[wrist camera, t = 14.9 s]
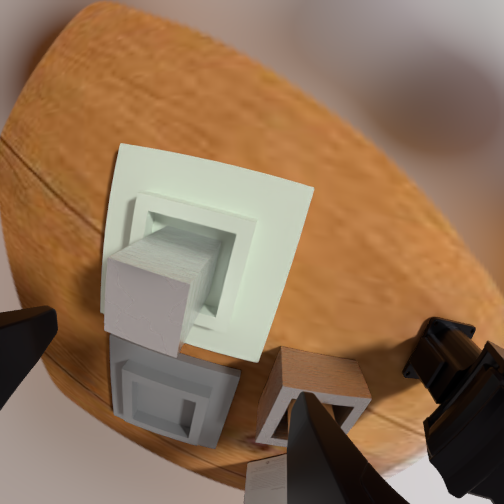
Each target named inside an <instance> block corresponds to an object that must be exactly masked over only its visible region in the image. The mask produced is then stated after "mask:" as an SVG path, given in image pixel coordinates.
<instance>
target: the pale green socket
mask: <svg viewBox="0 0 504 504" xmlns="http://www.w3.org/2000/svg"><path fill="white" fill-rule="evenodd" d="M313 191H314V188H313V187H310V186H307V185H303V184H300V183H297V182H293V181H290V180H286V179H283V178H279V177H275V176H272V175H268V174H264V173H261V172H257V171H253V170H249V169H245V168H241V167H237V166H233V165H229V164H225V163H220V162H216V161H212V160H207V159H203V158H198V157H193V156H188V155H184V154H179V153H174V152H168V151H163V150H158V149H152V148H146V147H141V146H134V145H128V144H122V143H120V147H119V152H118V156H117V161H116V166H115V171H114V176H113V182H112V187H111V193H110V200H109V206H108V213H107V221H106V229H105V238H104V248H103V260H102V276H101V302H100V312H101V313H103V314H105V289H106V274H107V261H108V257H109V256H111V255H113V254H115V253H117V252H118V251H120V250H122V249H124V248H126V247H128V246H129V245H131V244H133V243H135V242H137V241H139V240H141V239H142V238H144V237H146V236H148V235H150V234H152V233H154V232H156V231H158V230H160V229H162V228H164V227H166V226H171V227H175V228H178V229H182V230H186V231H189V232H193V233H196V234H200V235H203V236H207V237H210V238H214V239H218V240H221V241H222V244H221V248H220V252H219V256H218V260H217V264H216V268H215V272H214V277H213V281H212V285H211V289H210V293H209V295H208V297H207V299H206V301H205V303H204V305H203V307H202V309H201V311H200V313H199V315H198V317H197V318H196V320H195V322H194V324H193V326H192V328H191V330H190V332H189V334H188V336H187V338H186V340H185V342H184V343H187V344H190V345H193V346H196V347H200V348H203V349H207V350H210V351H214V352H217V353H221V354H225V355H228V356H232V357H236V358H240V359H244V360H248V361H252V362H256V363H258V361H259V359H260V356H261V353H262V350H263V348H264V345H265V342H266V339H267V336H268V333H269V330H270V328H271V325H272V322H273V319H274V316H275V313H276V310H277V307H278V304H279V301H280V298H281V295H282V292H283V289H284V286H285V283H286V280H287V277H288V273H289V270H290V267H291V264H292V261H293V258H294V255H295V251H296V248H297V245H298V242H299V238H300V235H301V232H302V229H303V225H304V222H305V219H306V215H307V212H308V208H309V205H310V202H311V198H312V195H313Z"/></svg>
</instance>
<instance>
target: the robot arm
mask: <svg viewBox="0 0 504 504" xmlns="http://www.w3.org/2000/svg"><path fill="white" fill-rule="evenodd" d="M435 322H436V323H435ZM434 323H435V324H434ZM57 330H58V324H57V314H56V311H55V309H53V308H51V307H49V306H40V307H34V308H27V309H21V310H14V311H8V312H1V313H0V410H1V409H2V407H3V406H4V405H5V403H6V402H7V401H8V399H9V398H10V397H11V395H12V394H13V393H14V391H15V390H16V388H17V387H18V386H19V385H20V383H21V382H22V381H23V379H24V378H25V377H26V376H27V374H28V373H29V372H30V370H31V369H32V368H33V367H34V366H35V364H36V363H37V362H38V360H39V359H40V357H41V356H42V354H43V353H44V351H45V350H46V348H47V347H48V345H49V344H50V342H51V341H52V339H53V338H54V336H55V335H56V333H57ZM475 330H476V328H475V327H474V326H473V325H470V324H465V323H461V322H457V321H452V320H448V319H444V318H440V317H433V318H432V319H431V320H430V322H429V324H428V326H427V328H426V330H425V332H424V334H423V336H422V338H421V340H420V342H419V343H418V345H417V347H416V349H415V351H414V353H413V354H412V356H411V358H410V360H409V361H408V363H407V365H406V366H405V368H404V370H403V372H402V374H403V376H404V377H405V378H415V379H420V380H421V382H422V383H423V385H424V386H425V388H426V389H428V391H429V392H430V394H431V396H432V397H433V399H434V401H435V402H436V404H439V407H438V408H437V409H436V410H435V411H434V412H433V413H432V414H431V415H430V416H429V417H427V418H426V419H425V420H424V421H423V425H424V431H425V437H426V445H427V452H428V456H429V461H430V463H431V464H432V465H433V466H434V467H435V468H436V469H437V470H438V472H439V473H440V475H441V476H442V478H443V480H444V482H445V484H446V487H447V489H448V492H449V493H450V494H451V495H453V496H455V497H456V498H461V497H463V496H464V495H465V494H467V493H468V494H472V495H475V496H479V497H483V498H486V499H490V500H491V502H492V503H493V504H504V349H503V348H501V347H499V346H497V345H495V344H494V343H492V342H490V341H487V342H486V344H485V345H484V349H483V350H481V349H480V348H479V347H478V346H477V345H476V344H475V343H474V342H473V341H472V340H471V338H472V337H473V335H474V333H475ZM407 372H408V373H407ZM287 504H410V503H408V502H407V501H406V500H405V499H404V498H403V497H402V496H400V495H399V494H398V493H397V492H396V491H395V490H394V489H393V488H392V487H391V486H390V485H389V484H388V483H387V482H386V481H385V480H384V479H383V478H382V477H381V476H380V475H379V473H378V472H377V471H376V470H375V469H374V468H373V467H372V465H371V464H370V463H368V461H367V459H366V458H365V457H364V456H363V455H362V453H361V452H360V451H359V450H358V448H357V447H356V446H355V445H354V444H353V442H352V441H351V440H350V439H349V437H348V436H347V435H346V434H345V432H344V431H343V430H342V429H341V427H340V426H339V425H338V424H337V422H336V421H335V420H334V419H333V417H332V416H331V415H330V413H329V412H328V411H327V410H326V408H325V407H324V406H323V404H322V403H321V402H320V401H319V399H318V398H317V397H316V395H315V394H314V393H312V392H305V391H302V392H301V393H300V394H299V396H298V398H297V400H296V401H295V403H294V405H293V407H292V410H291V416H290V426H289V435H288V443H287Z"/></svg>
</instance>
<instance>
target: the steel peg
mask: <svg viewBox="0 0 504 504" xmlns="http://www.w3.org/2000/svg"><path fill="white" fill-rule="evenodd" d="M221 244H222V241H221V240H218V239H214V238H210V237H207V236H203V235H200V234H196V233H193V232H189V231H186V230H182V229H178V228H175V227H171V226H166V227H164V228H162V229H160V230H158V231H156V232H154V233H152V234H150V235H148V236H146V237H144V238H142V239H141V240H139V241H137V242H135V243H133V244H131V245H129V246H128V247H126V248H124V249H122V250H120V251H118V252H117V253H115V254H113V255H111V256H109V257H108V261H107V274H106V289H105V314H104V330H105V331H107V332H109V333H112V334H114V335H116V336H119V337H121V338H124V339H126V340H129V341H131V342H134V343H136V344H139V345H142V346H144V347H147V348H150V349H152V350H155V351H158V352H161V353H164V354H167V355H169V356H172V357H175V358H177V356H178V354H179V352H180V350H181V348H182V346H183V344H184V342H185V340H186V338H187V336H188V334H189V332H190V330H191V328H192V326H193V324H194V322H195V320H196V318H197V317H198V315H199V313H200V311H201V309H202V307H203V305H204V303H205V301H206V299H207V297H208V295H209V293H210V289H211V285H212V281H213V277H214V272H215V268H216V264H217V260H218V256H219V252H220V248H221Z"/></svg>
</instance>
